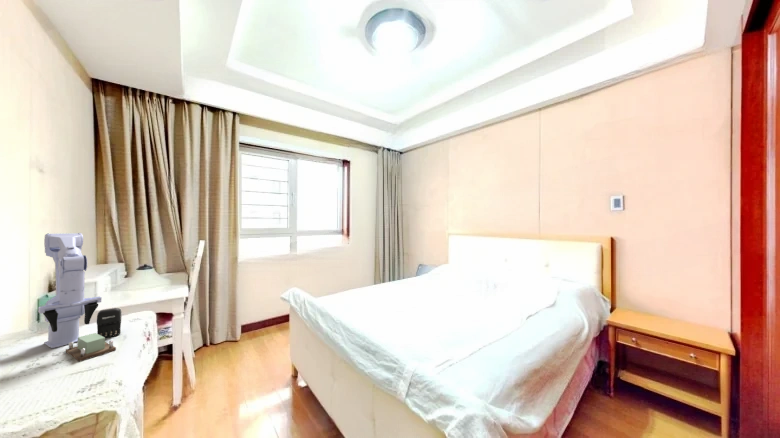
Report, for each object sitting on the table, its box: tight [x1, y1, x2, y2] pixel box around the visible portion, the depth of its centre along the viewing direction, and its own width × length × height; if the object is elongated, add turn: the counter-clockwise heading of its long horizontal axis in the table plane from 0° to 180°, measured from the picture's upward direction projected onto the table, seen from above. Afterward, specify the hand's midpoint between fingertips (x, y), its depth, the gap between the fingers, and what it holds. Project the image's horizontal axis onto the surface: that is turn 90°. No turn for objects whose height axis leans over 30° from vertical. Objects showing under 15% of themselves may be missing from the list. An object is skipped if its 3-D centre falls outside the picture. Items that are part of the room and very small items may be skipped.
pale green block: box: [76, 332, 106, 354], centre depth 97 cm, size 9×4×4 cm, turn 63°
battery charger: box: [96, 307, 123, 339], centre depth 109 cm, size 7×4×11 cm, turn 130°
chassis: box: [65, 334, 117, 362], centre depth 97 cm, size 14×9×4 cm, turn 64°
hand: (71, 327), depth 95 cm, fingers open, 7 cm apart
